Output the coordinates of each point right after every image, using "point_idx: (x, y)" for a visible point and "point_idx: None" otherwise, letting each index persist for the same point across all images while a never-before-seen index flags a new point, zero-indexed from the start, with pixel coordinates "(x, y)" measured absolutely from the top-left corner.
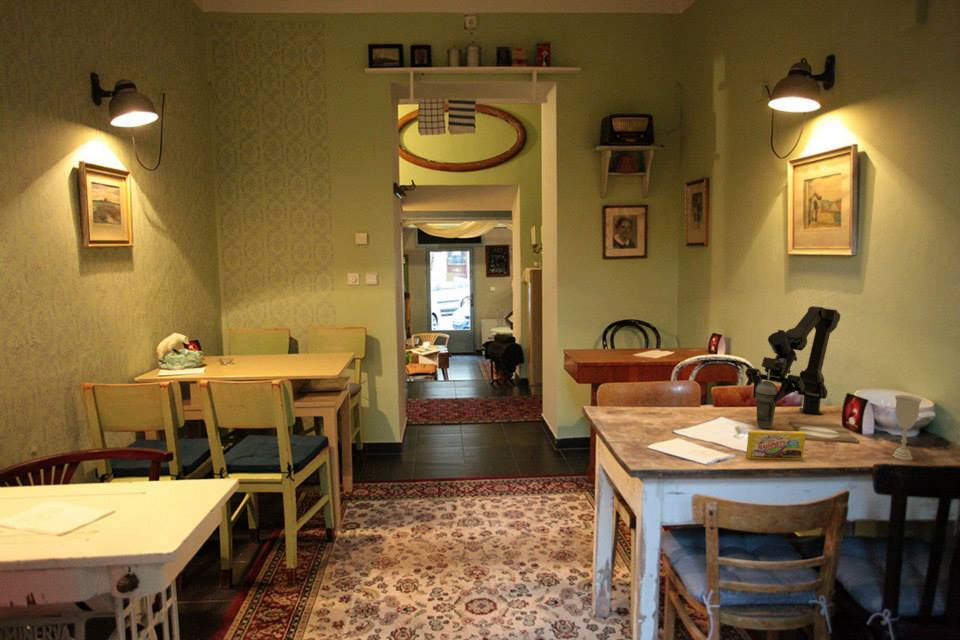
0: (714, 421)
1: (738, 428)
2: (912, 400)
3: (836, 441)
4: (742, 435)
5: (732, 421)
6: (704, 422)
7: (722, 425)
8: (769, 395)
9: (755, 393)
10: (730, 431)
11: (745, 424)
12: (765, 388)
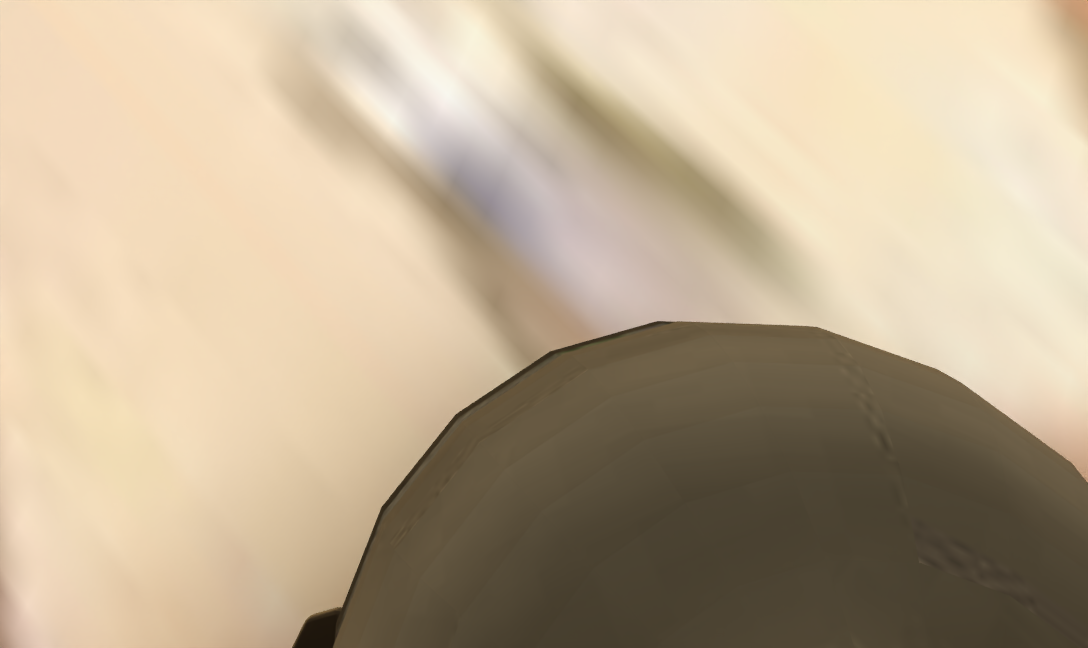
0: (1067, 165)
1: (709, 220)
2: None
3: None
4: (459, 49)
5: (1005, 392)
6: (1059, 19)
7: (883, 130)
8: (401, 488)
9: None
10: (640, 37)
11: None
12: (542, 409)
